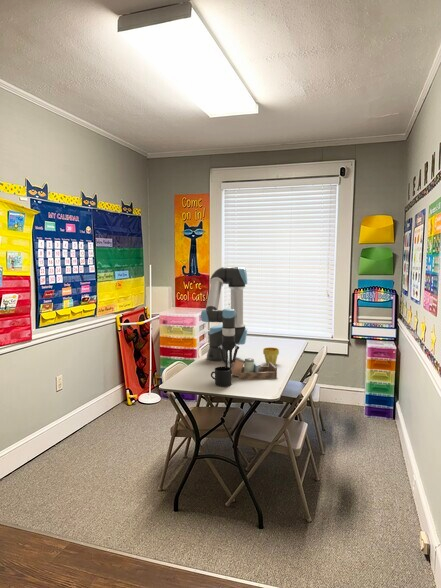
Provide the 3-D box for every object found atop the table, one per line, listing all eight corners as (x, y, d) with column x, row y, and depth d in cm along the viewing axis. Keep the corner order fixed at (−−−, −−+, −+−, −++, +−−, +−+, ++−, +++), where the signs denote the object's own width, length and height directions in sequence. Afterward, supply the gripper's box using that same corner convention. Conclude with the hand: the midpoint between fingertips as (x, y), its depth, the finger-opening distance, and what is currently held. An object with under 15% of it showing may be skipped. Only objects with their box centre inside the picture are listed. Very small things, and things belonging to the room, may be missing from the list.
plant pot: (266, 365, 268) (266, 351, 267) (260, 361, 278) (261, 347, 277) (281, 364, 270) (281, 350, 270) (274, 360, 280) (275, 346, 279)
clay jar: (239, 377, 241) (245, 362, 241) (230, 374, 240) (236, 358, 240) (238, 374, 247) (243, 359, 247) (229, 371, 246) (234, 356, 246)
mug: (213, 380, 235) (213, 365, 234) (233, 382, 231) (233, 367, 231) (208, 385, 226) (208, 369, 226) (228, 387, 222) (228, 371, 222)
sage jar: (245, 376, 242) (245, 360, 241) (243, 374, 248) (243, 358, 247) (254, 376, 243) (255, 360, 242) (252, 373, 249) (253, 358, 248)
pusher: (256, 377, 240) (256, 365, 240) (252, 372, 251) (252, 361, 251) (262, 377, 241) (262, 365, 240) (257, 371, 252) (257, 360, 251)
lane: (239, 379, 237) (239, 369, 237) (235, 372, 251) (235, 363, 251) (276, 377, 240) (276, 367, 240) (270, 371, 255) (270, 361, 254)
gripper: (218, 336, 237) (218, 375, 239) (240, 335, 238) (240, 375, 240) (217, 334, 244) (216, 372, 246) (238, 333, 246) (238, 371, 248)
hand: (228, 373), depth 243 cm, fingers closed
